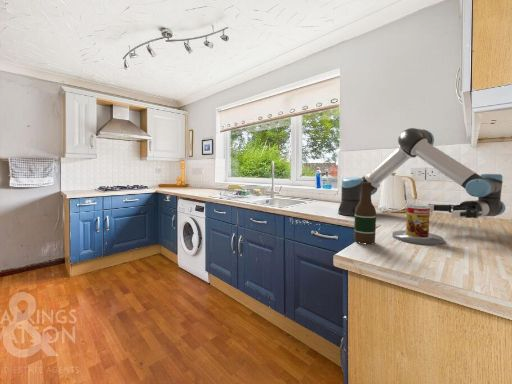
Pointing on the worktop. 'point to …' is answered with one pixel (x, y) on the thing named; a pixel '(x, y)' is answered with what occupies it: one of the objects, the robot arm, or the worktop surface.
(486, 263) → the worktop surface
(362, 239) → the beer bottle
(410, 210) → the canned food
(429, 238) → the plate
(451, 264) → the worktop surface
